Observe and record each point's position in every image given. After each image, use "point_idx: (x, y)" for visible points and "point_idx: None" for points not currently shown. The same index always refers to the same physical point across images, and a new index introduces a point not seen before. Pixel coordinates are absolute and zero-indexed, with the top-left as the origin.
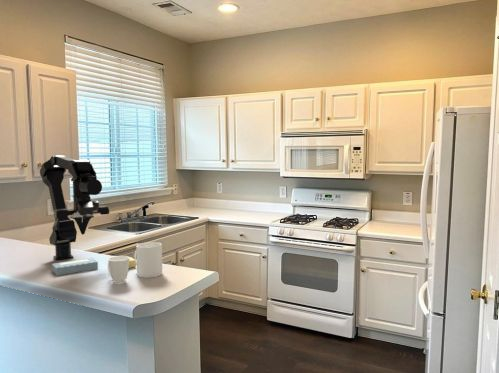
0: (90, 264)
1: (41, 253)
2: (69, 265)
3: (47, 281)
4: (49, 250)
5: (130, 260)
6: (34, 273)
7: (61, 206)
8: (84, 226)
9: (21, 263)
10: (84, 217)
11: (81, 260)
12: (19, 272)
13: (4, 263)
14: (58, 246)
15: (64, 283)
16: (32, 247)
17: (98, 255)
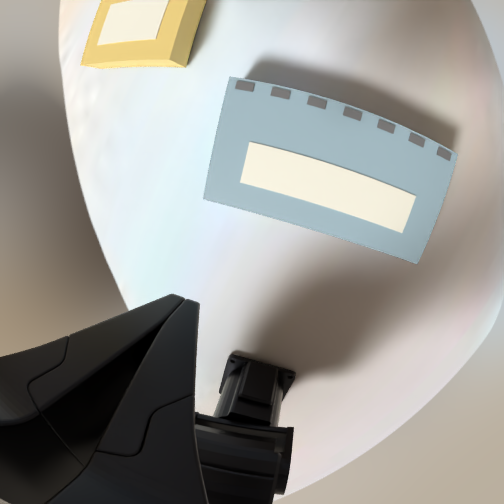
0: (275, 86)
1: None
2: (389, 141)
3: (490, 108)
4: None
5: (115, 1)
6: (460, 269)
7: None
8: (109, 353)
9: (381, 409)
10: (20, 487)
11: (282, 186)
12: (464, 324)
13: (397, 428)
14: (273, 421)
15: (454, 23)
16: None
17: None
